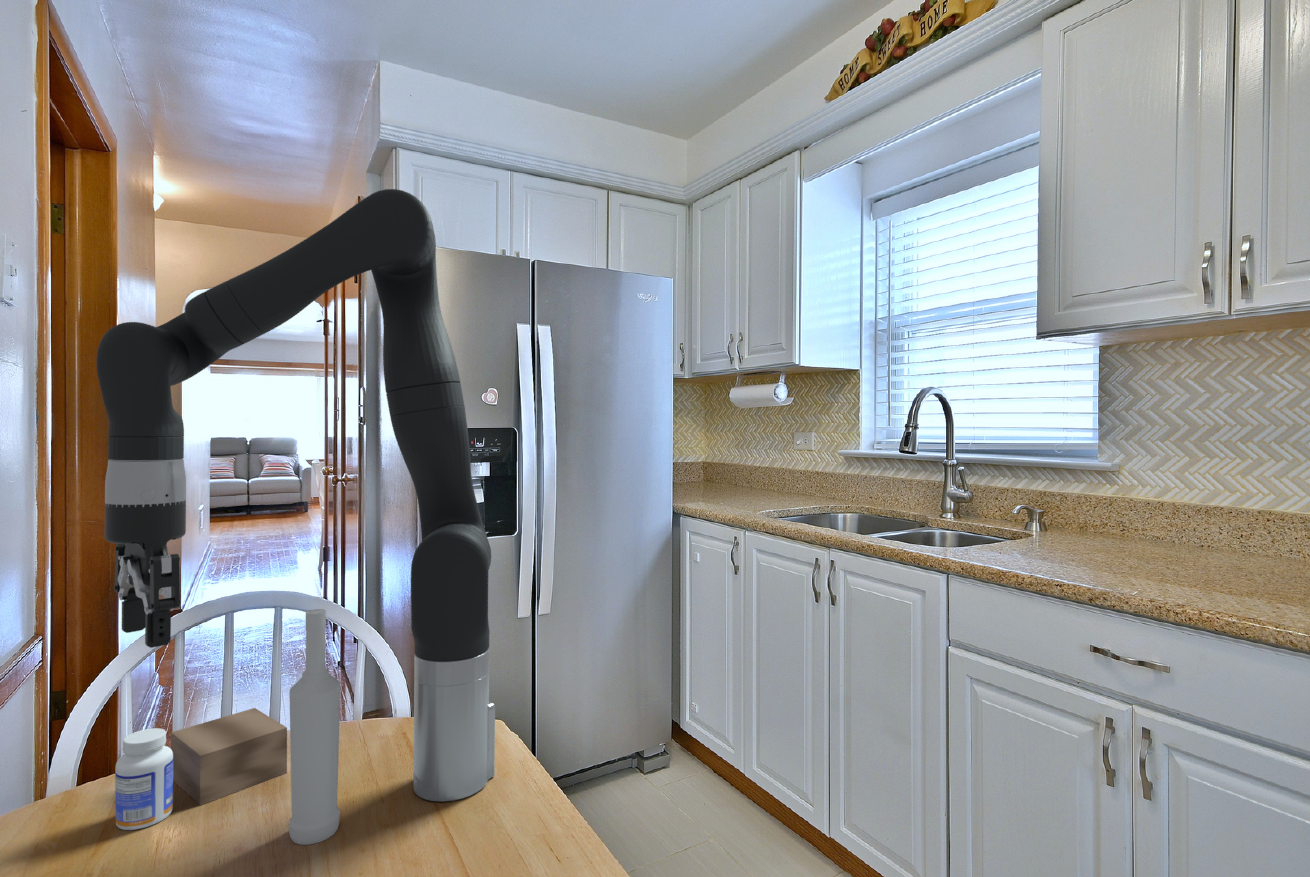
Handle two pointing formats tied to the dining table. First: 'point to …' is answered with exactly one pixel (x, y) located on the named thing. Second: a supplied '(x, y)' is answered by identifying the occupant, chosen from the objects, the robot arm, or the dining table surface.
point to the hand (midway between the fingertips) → (145, 637)
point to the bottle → (314, 742)
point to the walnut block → (228, 754)
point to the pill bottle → (143, 780)
